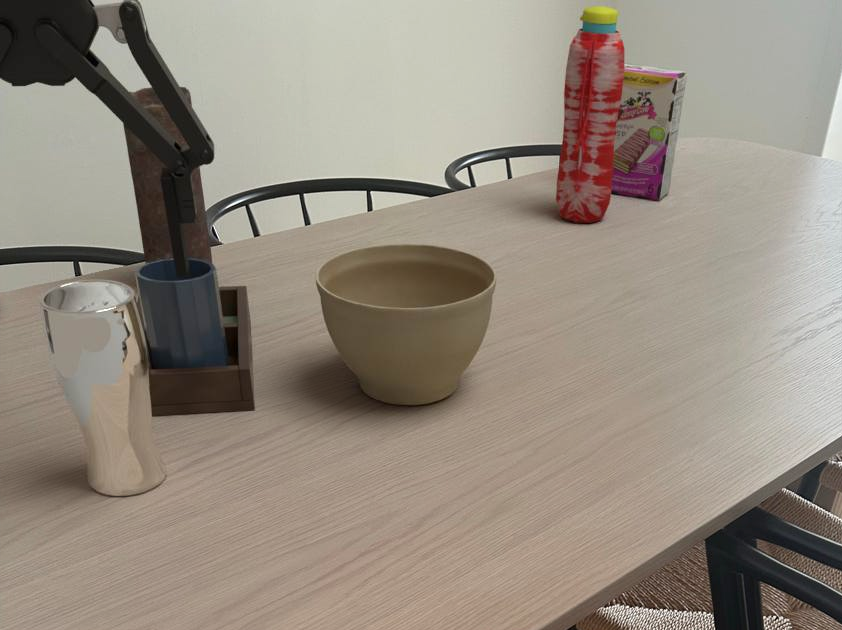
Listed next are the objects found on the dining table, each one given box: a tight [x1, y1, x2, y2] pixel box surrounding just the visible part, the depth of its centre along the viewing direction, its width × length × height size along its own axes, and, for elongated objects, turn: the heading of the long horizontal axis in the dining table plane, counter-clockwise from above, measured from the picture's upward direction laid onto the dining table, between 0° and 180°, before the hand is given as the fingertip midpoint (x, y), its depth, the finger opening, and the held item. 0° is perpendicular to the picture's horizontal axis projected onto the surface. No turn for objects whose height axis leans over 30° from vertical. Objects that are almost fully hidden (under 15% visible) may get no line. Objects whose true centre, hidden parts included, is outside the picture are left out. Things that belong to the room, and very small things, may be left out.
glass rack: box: [136, 285, 256, 417], centre depth 96 cm, size 11×21×4 cm, turn 11°
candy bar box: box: [611, 62, 688, 202], centre depth 143 cm, size 11×5×16 cm, turn 65°
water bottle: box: [555, 5, 626, 224], centre depth 131 cm, size 12×8×25 cm, turn 158°
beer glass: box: [38, 278, 167, 497], centre depth 76 cm, size 7×7×15 cm
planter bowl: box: [314, 242, 497, 406], centre depth 92 cm, size 16×16×11 cm
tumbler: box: [134, 258, 230, 370], centre depth 89 cm, size 7×7×10 cm
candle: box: [122, 86, 213, 264], centre depth 107 cm, size 8×7×20 cm
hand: (84, 274), depth 70 cm, fingers open, 13 cm apart
